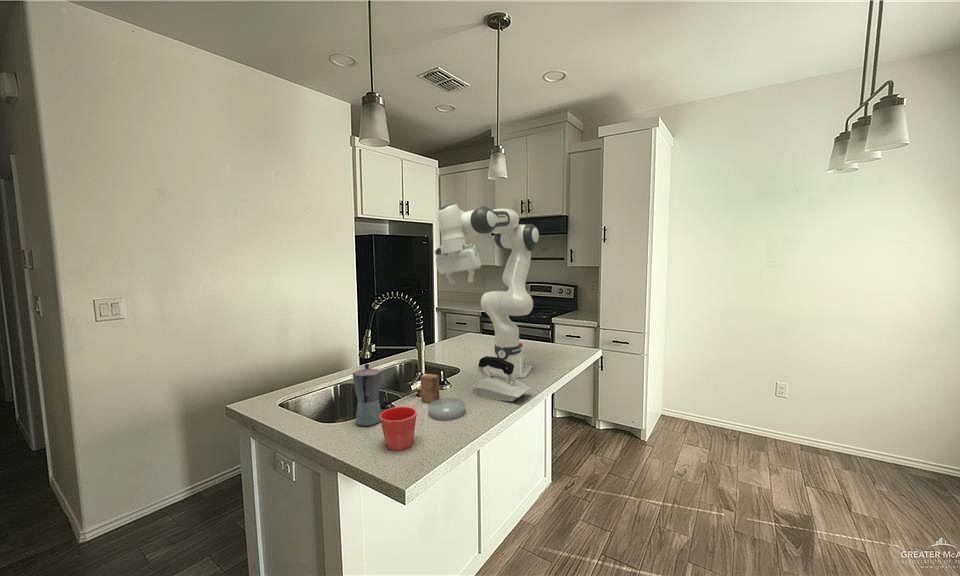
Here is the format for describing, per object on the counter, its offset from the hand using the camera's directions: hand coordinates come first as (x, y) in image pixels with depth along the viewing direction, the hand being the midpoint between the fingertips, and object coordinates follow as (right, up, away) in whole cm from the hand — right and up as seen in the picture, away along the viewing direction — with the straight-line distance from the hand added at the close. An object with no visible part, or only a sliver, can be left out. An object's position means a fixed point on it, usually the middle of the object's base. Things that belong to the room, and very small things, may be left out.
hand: (461, 283), depth 145 cm
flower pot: (-17, -49, -29) cm, 60 cm away
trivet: (-5, -47, -8) cm, 48 cm away
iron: (+15, -45, +8) cm, 48 cm away
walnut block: (-12, -46, +3) cm, 48 cm away
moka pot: (-31, -48, -13) cm, 59 cm away
